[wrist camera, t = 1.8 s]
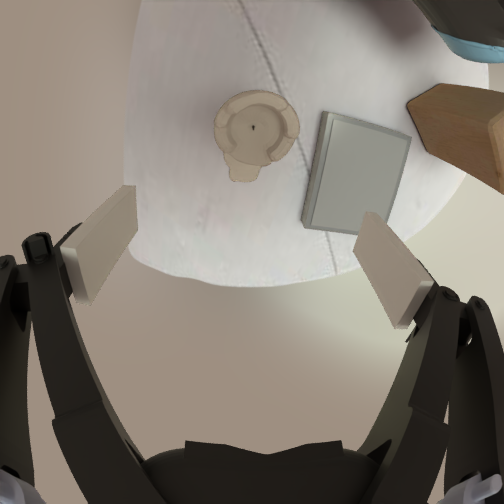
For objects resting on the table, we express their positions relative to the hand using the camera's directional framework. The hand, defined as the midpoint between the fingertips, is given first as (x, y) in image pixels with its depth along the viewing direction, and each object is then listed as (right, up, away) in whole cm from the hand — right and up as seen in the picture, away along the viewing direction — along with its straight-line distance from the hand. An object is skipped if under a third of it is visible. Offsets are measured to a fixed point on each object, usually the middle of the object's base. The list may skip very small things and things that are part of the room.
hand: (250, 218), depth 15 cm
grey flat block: (+16, +10, +26) cm, 32 cm away
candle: (0, +15, +23) cm, 27 cm away
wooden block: (+31, +21, +20) cm, 42 cm away
